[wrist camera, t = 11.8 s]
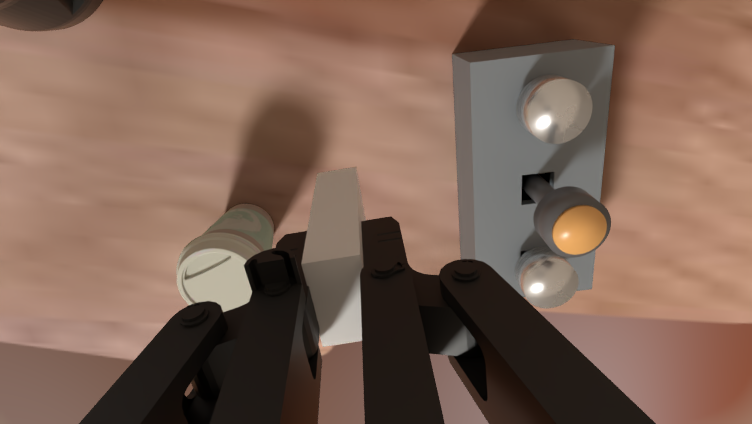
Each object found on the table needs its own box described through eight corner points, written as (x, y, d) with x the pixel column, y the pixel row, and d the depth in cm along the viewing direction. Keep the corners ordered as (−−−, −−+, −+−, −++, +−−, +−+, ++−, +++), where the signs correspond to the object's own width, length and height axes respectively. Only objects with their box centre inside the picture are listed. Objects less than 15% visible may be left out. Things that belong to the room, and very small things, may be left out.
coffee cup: (286, 194, 51) (267, 245, 40) (285, 261, 54) (267, 325, 43) (208, 188, 50) (165, 239, 39) (211, 257, 54) (174, 320, 43)
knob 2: (491, 213, 52) (524, 265, 41) (535, 208, 52) (580, 259, 41) (491, 252, 54) (523, 311, 43) (534, 247, 54) (576, 305, 43)
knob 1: (489, 66, 45) (528, 83, 35) (540, 60, 45) (595, 75, 35) (490, 116, 47) (527, 147, 37) (538, 110, 47) (590, 140, 37)
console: (452, 54, 45) (469, 62, 38) (573, 39, 45) (614, 45, 38) (460, 263, 55) (476, 302, 48) (560, 251, 55) (591, 289, 48)
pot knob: (503, 158, 44) (548, 204, 34) (555, 152, 44) (616, 196, 34) (503, 205, 46) (545, 263, 36) (552, 199, 46) (610, 256, 36)
